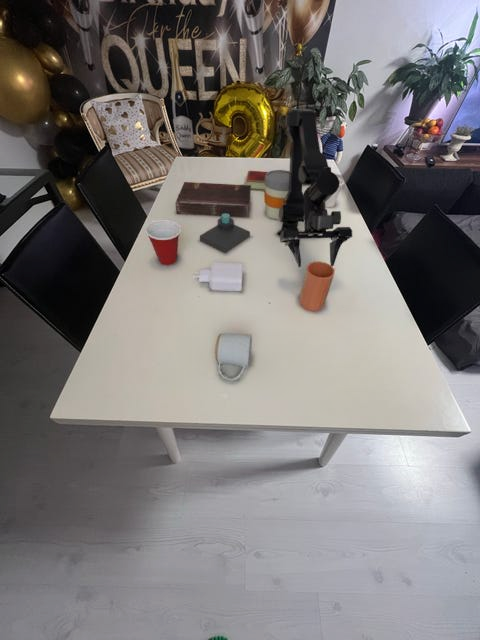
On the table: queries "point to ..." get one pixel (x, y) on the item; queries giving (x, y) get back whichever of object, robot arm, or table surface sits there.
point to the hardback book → (214, 199)
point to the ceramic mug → (233, 351)
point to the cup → (316, 285)
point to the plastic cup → (164, 239)
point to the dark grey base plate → (224, 236)
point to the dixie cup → (334, 195)
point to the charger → (223, 276)
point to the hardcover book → (256, 180)
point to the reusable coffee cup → (275, 191)
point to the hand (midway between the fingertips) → (316, 266)
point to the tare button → (225, 218)
